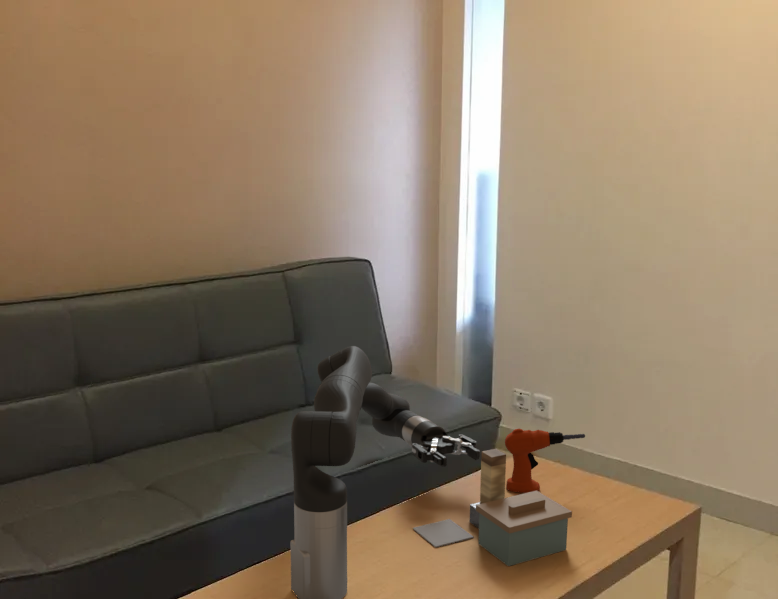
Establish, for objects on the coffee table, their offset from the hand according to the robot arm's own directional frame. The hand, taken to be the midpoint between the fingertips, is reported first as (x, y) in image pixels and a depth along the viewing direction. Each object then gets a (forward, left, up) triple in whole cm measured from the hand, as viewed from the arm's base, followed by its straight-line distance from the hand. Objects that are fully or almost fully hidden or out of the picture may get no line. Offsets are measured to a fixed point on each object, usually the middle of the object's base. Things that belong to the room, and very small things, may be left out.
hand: (461, 459), depth 182 cm
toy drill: (+21, -2, -11) cm, 24 cm away
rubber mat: (-11, -10, -10) cm, 18 cm away
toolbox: (0, -22, -10) cm, 25 cm away
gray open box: (0, -12, -10) cm, 16 cm away
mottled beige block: (0, -12, -10) cm, 16 cm away
